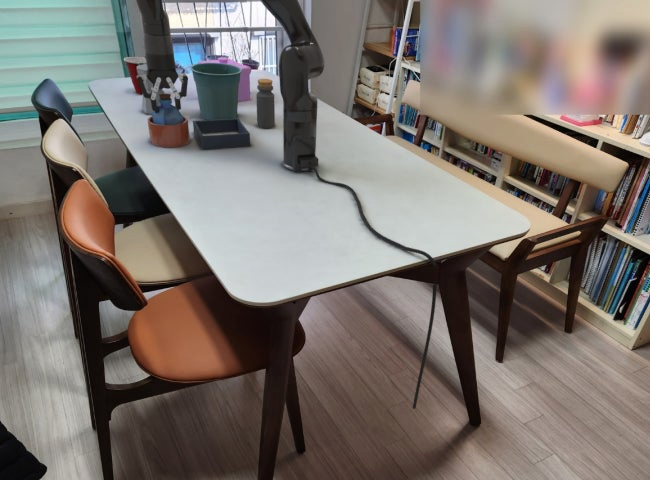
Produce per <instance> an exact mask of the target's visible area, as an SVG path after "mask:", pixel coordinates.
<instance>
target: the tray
mask: <svg viewBox="0 0 650 480" xmlns="http://www.w3.org/2000/svg"><path fill="white" fill-rule="evenodd" d="M192 127H193V128H192V129H193V134H194V137H195V138H196V140H197V142H198V144H199V147H201V149H202V150H215V149H216V150H217V149H229V148H243V147H251V133H250V131H249V130H248V129H247V127H246V126H245V124H244V123H242V121H241V120H240V118H238V117H237V118H236V119H219V120H206V119H201V120H192ZM232 132H233V133H232ZM234 132H238V133H234ZM215 133H222V134H215ZM223 133H224V134H223ZM203 134H208V135H203Z"/></svg>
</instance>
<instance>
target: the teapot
mask: <svg viewBox="0 0 650 480" xmlns="http://www.w3.org/2000/svg"><path fill="white" fill-rule="evenodd" d="M198 63H224V64H230V65H234V66H237V67H239V68H241V69H242V72H241V73H240V83H239V89H238V102H244V101H251V77H250V75H251V73H252V68H251V66H249V65H244V64H242V63H239V62H238V61H235V60H234V59H231V58H228V57H224V56H219V57H217V59H210V60H209V59H208V60H198V61H197V64H198ZM191 66H192V65H188V66H187V67H188V68H190V67H191Z"/></svg>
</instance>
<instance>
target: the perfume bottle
mask: <svg viewBox="0 0 650 480" xmlns="http://www.w3.org/2000/svg"><path fill="white" fill-rule="evenodd" d="M159 96H160V99H159V102H160V103H161V105H158V106H157V110H158V113H155V111H153V113H152V115H151V116H152V118H153V123H154V124H158V125H176V124H180V123H183V116H184V115H183V114H182V113H181V110H178V109H176V107H175V105H173V98H171V93H166V92H164V93H163V94H159Z"/></svg>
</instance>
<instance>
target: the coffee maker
mask: <svg viewBox="0 0 650 480" xmlns="http://www.w3.org/2000/svg"><path fill="white" fill-rule="evenodd" d="M144 58H145V59H146V56H145V55H144ZM137 72H138V75H145V74H146V73H147V63H139V65H138V66H137ZM144 85H145V88H146V91H147V93H151V88H152V83H151V82H150V80H149V79H148V78H147V79H146V83H145V84H144ZM163 93H165V91H164V90H163V89H158V92H157V94H156V98H155V99H156V103H157V106H158V105H161V103H160V102H159V99H160V96H159V94H163ZM141 100H142V101H141V102H142V105H141V106H142V107H141V110H142V113H143V114H145V115H148V116H149V115H150V116H152V113H153V110H152V107H151V100H150V99H149V98H145V97H144V96H143V95H142V99H141Z"/></svg>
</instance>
